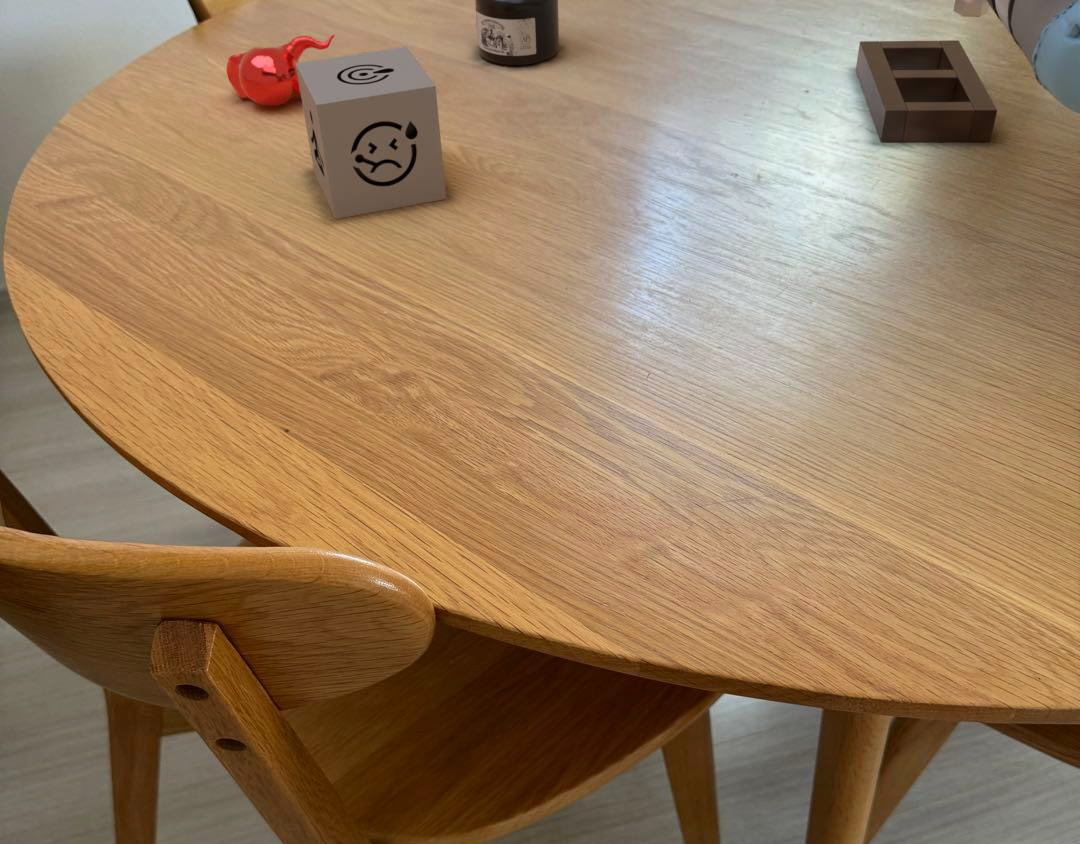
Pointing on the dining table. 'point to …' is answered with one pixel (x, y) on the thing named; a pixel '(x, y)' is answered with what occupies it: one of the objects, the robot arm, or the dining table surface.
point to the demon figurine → (270, 71)
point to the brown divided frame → (924, 92)
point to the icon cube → (372, 131)
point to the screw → (971, 7)
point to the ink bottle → (517, 30)
